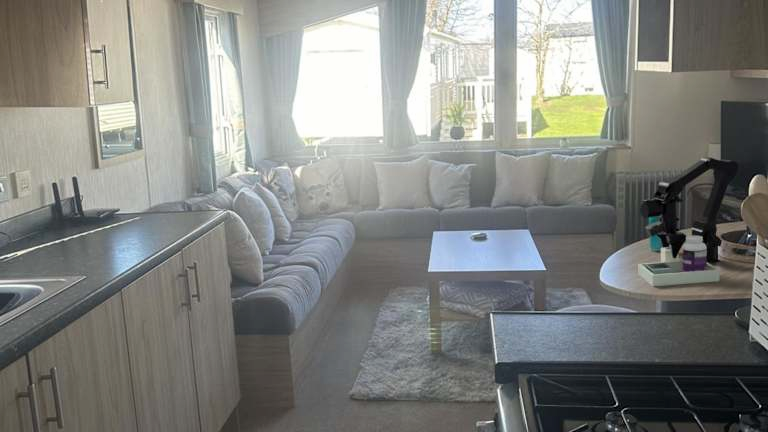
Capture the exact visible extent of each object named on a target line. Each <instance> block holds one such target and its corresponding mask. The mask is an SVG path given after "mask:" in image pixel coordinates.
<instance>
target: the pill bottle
mask: <svg viewBox="0 0 768 432" xmlns="http://www.w3.org/2000/svg"><path fill="white" fill-rule="evenodd" d="M686 236H687V237H686V241H685V243H683V245H682V247H681V250H682V258H681V259H682V272H692V271H704V270H707V263H708V262H707V247H706V245H705V244H704V243H702V241H703V237H702V236H692V235H686Z"/></svg>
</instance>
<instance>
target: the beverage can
mask: <svg viewBox="0 0 768 432" xmlns="http://www.w3.org/2000/svg"><path fill="white" fill-rule="evenodd" d="M659 217H661V215H660V216H658V217H651V218H648V220H649V221H648V222H649V224H648V225H650V224H652V223H655V222H658V221H659ZM649 246H650V247H649V248H650V250H651V251H652V252H661V248H663V247H662V243H661V240H660V238H659V237H658V236H656V235H655V236H650V235H649Z"/></svg>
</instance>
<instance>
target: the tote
mask: <svg viewBox="0 0 768 432" xmlns="http://www.w3.org/2000/svg"><path fill="white" fill-rule="evenodd" d="M658 263H665V264H667V265H668V266H670V267H671V273H667V274H655V275H654V274H653V273H651V272H650V271H649V270H648V269H646V264H658ZM637 265H638V266H637V268H638V269H637V270H638V276H640V277H641V278H642V279H643V280H645V281H646V282H647V284H650V286H652V287H664V286H675V285H686V284H688V285H689V284H701V283H713V282H720V269H718V268H717V267H715V266H714V265H712V264H711V263H710V262H707V270H704V271H692V272H682V260H679V261H669V262H661V261H660V262H659V261H657V262H645V263H638V264H637Z"/></svg>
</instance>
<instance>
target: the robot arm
mask: <svg viewBox="0 0 768 432" xmlns="http://www.w3.org/2000/svg"><path fill="white" fill-rule="evenodd" d="M709 170H712V171H713V180H714V181H713V185H712V187H711V191H710V194H709V197H708V199H707V201H706V202H707V203H706V205H705V208H704V212H703V214H702V216H701V218H700V219H699V220H697V219H695V220H694V221H693V224H692V227H691V229H690V230H691V236H702V237H703V241H702V243H704V244H705V245H706V247H707V263H716V262H717V263H718V262H721V259H719V247H721V245H722V243H723V240H722V239H721V238H720V237H719V236H718V235H717V230H718V228H717V223H716V221H717V218H718V215H719V212H720V209H721V207H722V203H723V201H724V198H725V195H726V192H727V189H728V186H729V185H730V184H731V183H732V182H733V181H734V180H735V179H736V177H737V175H738V174H739V172H740V171H739V170H740V166H739V165H738V163H737V161H735V160H728V159H715V158H713V157H709V156H704V157H702V158H700V160H698V161H697V162H696V163H694V164H692V165H691V166H689V167H688V168H686V170H683V171H682V172H681V173H679V174H678V175H676V176H673V177H668V178H666V179H664V180H661V181H660V182H659V183H658V184H657V189H655V192H654V193H653V195H652V196H651V199H643V200H642V204H641V206H640V208H639V210H640V211H639V212H640V215H641V216H642V218H644V219H649V218H651V217H658V216H660V215H661V217H659V221H658V222H655V223H652V224H650V225H649V224H648V225H646V226H645V231H646V233H647V235H648V236H649V237H650V236H655V235H656V236H658V237H659V238H660V240H661V243H662V247H663V248H665V247H671V251H672V257H673V258H676V257H677V255H678V253H679V254H680V251H681V250H682V246H683V244H684V243H686V237H687V236H688V235H686V234H685V233H684V232H682V231H680V228H679V227H678V221H680V218H679V217H678V203H682V202H683V199H682V198H680V197H679V195H680V194H681V193H682V192H683V191H684V189H685V187H686V186H687V185H688V184H690V183H692V182H693V181H694V180H696V179H697V178H699V177H700V176H702V175H703V174H704V173H706V172H708V171H709Z"/></svg>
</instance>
